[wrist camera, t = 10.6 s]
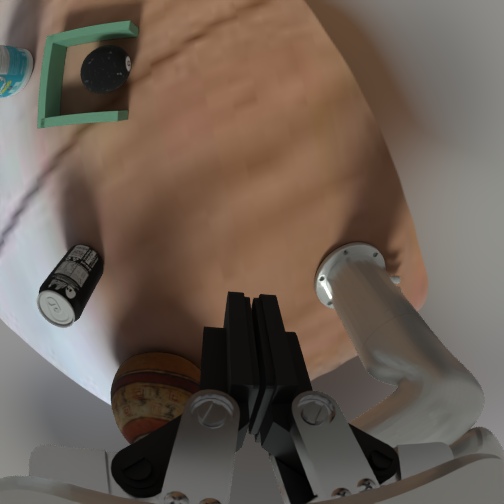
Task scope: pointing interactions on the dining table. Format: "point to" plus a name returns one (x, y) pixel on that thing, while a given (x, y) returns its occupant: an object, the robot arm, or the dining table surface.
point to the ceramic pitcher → (151, 392)
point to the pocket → (55, 68)
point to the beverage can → (70, 286)
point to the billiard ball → (105, 69)
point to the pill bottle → (14, 69)
